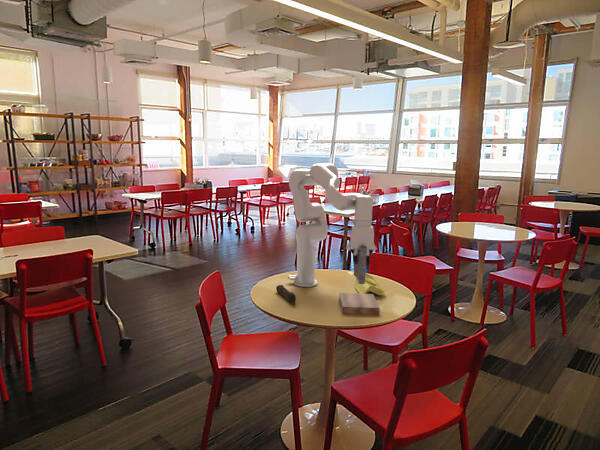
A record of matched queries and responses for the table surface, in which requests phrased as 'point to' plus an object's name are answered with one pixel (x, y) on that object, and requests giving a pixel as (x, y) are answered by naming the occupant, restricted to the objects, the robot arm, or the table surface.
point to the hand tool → (286, 294)
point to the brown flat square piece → (358, 303)
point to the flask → (361, 265)
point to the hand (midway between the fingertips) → (360, 263)
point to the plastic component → (369, 286)
